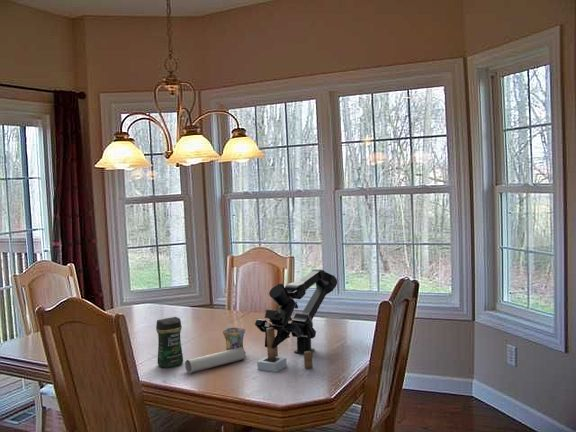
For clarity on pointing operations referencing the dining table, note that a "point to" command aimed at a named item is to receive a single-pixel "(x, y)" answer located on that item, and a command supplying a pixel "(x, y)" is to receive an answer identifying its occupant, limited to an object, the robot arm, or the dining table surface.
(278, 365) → the slate collar block
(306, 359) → the short walnut dowel
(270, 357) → the long walnut dowel
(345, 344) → the dining table surface
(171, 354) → the coffee jar
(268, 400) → the dining table surface
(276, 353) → the medium walnut dowel
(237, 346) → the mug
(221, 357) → the tube
